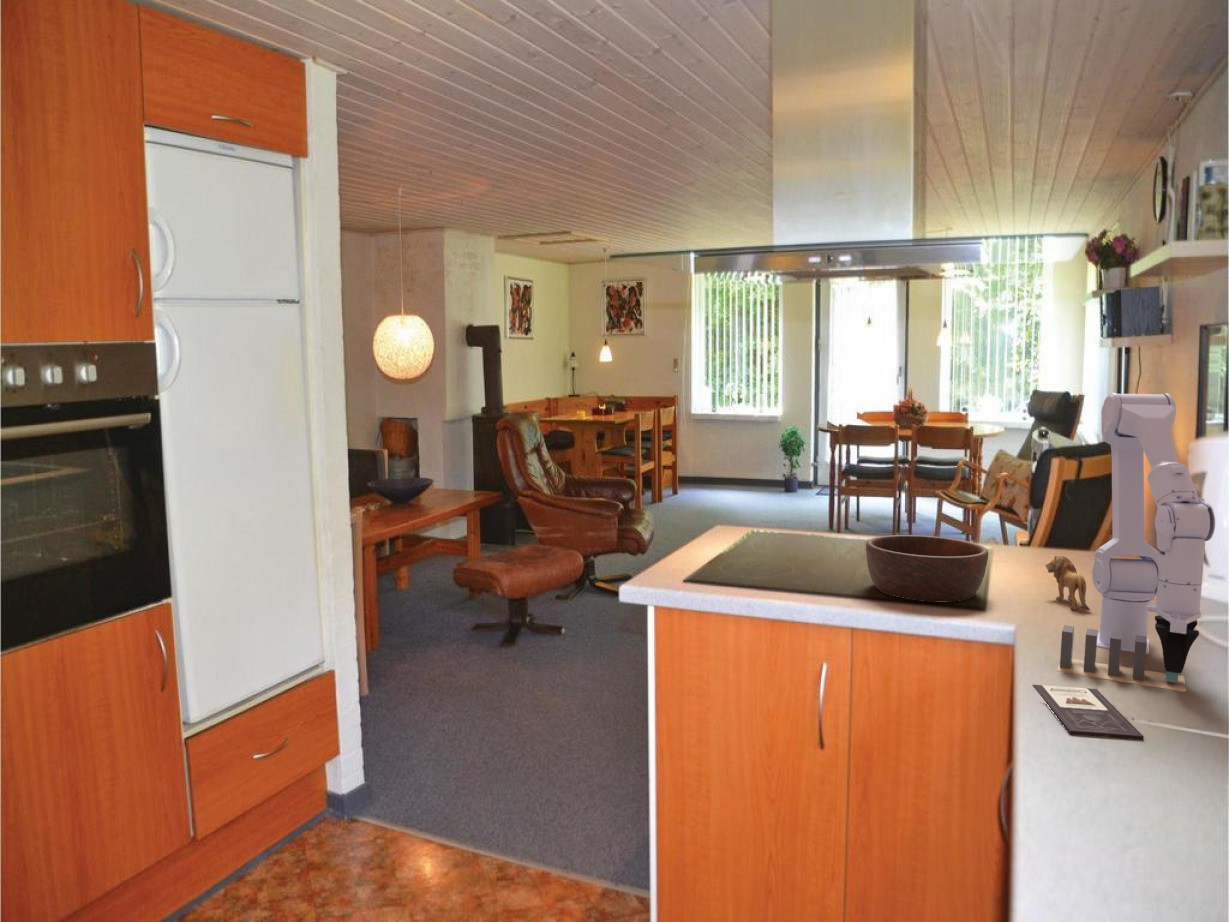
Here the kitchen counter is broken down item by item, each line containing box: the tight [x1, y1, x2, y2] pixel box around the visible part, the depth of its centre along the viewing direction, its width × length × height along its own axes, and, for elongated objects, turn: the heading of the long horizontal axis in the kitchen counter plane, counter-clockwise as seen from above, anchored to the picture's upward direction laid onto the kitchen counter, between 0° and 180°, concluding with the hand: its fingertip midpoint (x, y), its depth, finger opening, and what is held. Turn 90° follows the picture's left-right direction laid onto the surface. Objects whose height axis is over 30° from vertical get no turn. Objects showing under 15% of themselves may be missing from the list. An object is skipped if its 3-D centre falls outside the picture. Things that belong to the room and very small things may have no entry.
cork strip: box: [1056, 658, 1187, 693], centre depth 144 cm, size 8×17×1 cm, turn 60°
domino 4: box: [1132, 635, 1148, 681], centre depth 143 cm, size 2×4×6 cm, turn 150°
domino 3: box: [1108, 632, 1122, 677], centre depth 144 cm, size 2×4×6 cm, turn 150°
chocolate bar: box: [1032, 684, 1145, 741], centre depth 129 cm, size 9×1×18 cm
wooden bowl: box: [865, 534, 990, 602], centre depth 197 cm, size 25×25×10 cm
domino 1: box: [1059, 625, 1075, 669], centre depth 148 cm, size 2×4×6 cm, turn 150°
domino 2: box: [1083, 628, 1099, 673], centre depth 146 cm, size 2×4×6 cm, turn 150°
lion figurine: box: [1044, 554, 1091, 611], centre depth 189 cm, size 15×5×9 cm, turn 1°
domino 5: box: [1165, 670, 1179, 683], centre depth 140 cm, size 2×4×6 cm, turn 150°
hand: (1172, 667), depth 141 cm, fingers closed on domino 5, 4 cm apart
